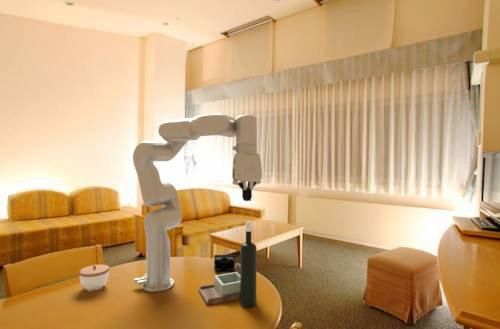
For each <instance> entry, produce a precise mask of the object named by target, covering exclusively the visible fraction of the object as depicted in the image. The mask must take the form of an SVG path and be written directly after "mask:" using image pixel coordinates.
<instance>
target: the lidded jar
mask: <svg viewBox="0 0 500 329" xmlns="http://www.w3.org/2000/svg"><path fill="white" fill-rule="evenodd" d="M109 276H110V266H109V265H107V264H93V265H89V266H85V267H83V268H81V269H80V270H79V283H80V285H81V286H82V288H84V289H85V291H87V290H90V291H89V292H92V291H91V290H97V291H99V290H98V289H100V288H101V289H102V287H103V288H104V287H105V285H106V284H107V283H108V280H109ZM101 289H100V290H101Z"/></svg>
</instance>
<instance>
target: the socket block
mask: <svg viewBox="0 0 500 329" xmlns="http://www.w3.org/2000/svg"><path fill="white" fill-rule="evenodd" d="M213 276H214V277H213V278H214V280H213V282H214V283H213V284H214V287H215V289H216V290H217V291H218V293H219V294H220V295H221V296H223V295H229V294H234V293H239V292H240V278H241V275H240V274H239V273H238V272H236V271H234V272H227V273H223V274H218V275H217V274H216V275H213Z"/></svg>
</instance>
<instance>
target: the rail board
mask: <svg viewBox="0 0 500 329" xmlns="http://www.w3.org/2000/svg"><path fill="white" fill-rule="evenodd" d="M235 272H238V273H239V274H240V275H241V263H239V262H235ZM198 292H199V294H200V296H201V297H202V300H203V301H204V303H205V304H206V306H210V305H215V304H221V303H225V302H230V301H235V300H240V292H239V293H234V294H229V295H223V296H221V295H220V294H219V293H218V291H217V290H216V289H215V287H214V283H211V284H205V285H200V288H198Z"/></svg>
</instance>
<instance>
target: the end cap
mask: <svg viewBox="0 0 500 329" xmlns="http://www.w3.org/2000/svg"><path fill="white" fill-rule="evenodd" d="M213 262H214V263H213V267H214V273H234V272H235V269H236V254H214V256H213Z"/></svg>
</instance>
